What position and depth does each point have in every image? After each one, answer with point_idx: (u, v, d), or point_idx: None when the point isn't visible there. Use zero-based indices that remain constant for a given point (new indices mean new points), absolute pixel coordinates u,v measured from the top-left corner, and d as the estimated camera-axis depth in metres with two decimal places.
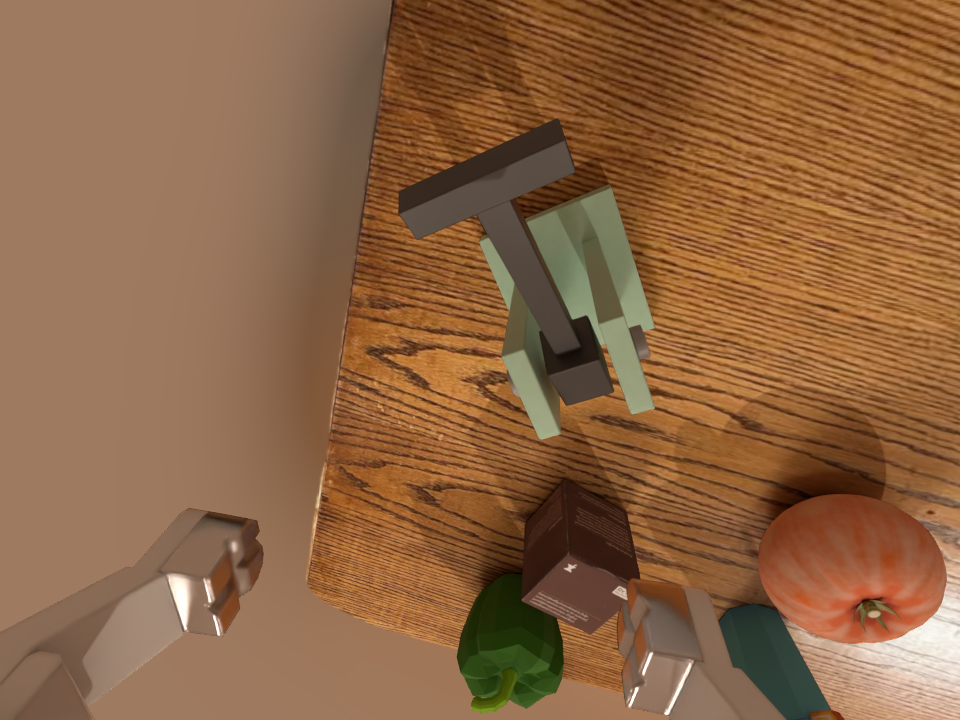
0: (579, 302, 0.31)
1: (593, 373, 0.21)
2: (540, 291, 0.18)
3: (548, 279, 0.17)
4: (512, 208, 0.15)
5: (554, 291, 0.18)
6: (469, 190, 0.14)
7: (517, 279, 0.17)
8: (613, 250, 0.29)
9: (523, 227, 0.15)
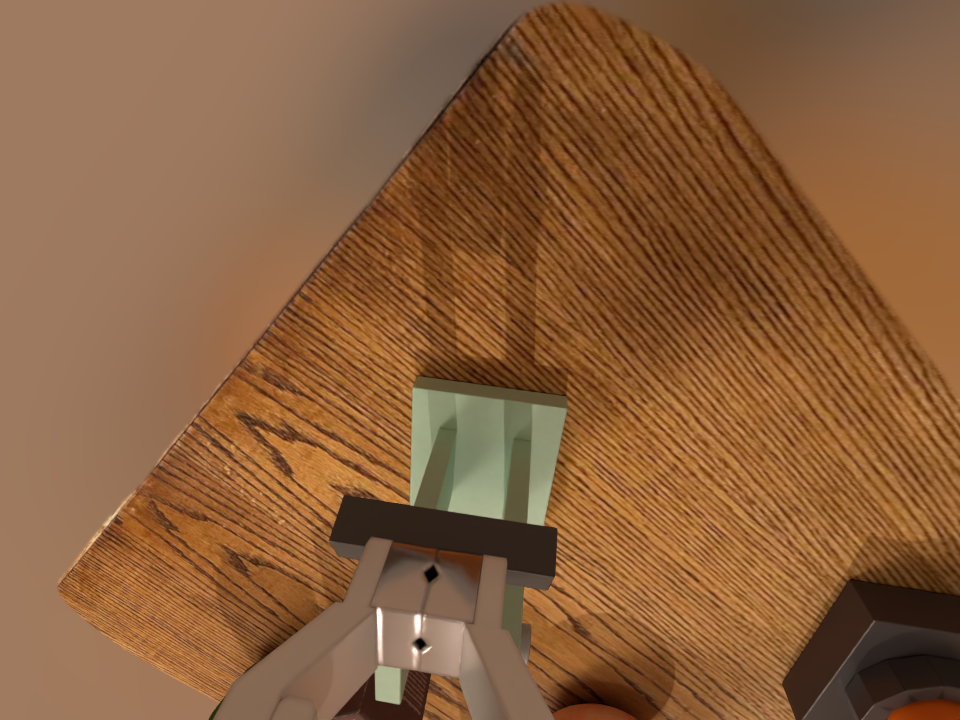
0: (484, 483, 0.29)
1: None
2: None
3: None
4: None
5: None
6: None
7: None
8: (539, 458, 0.27)
9: None
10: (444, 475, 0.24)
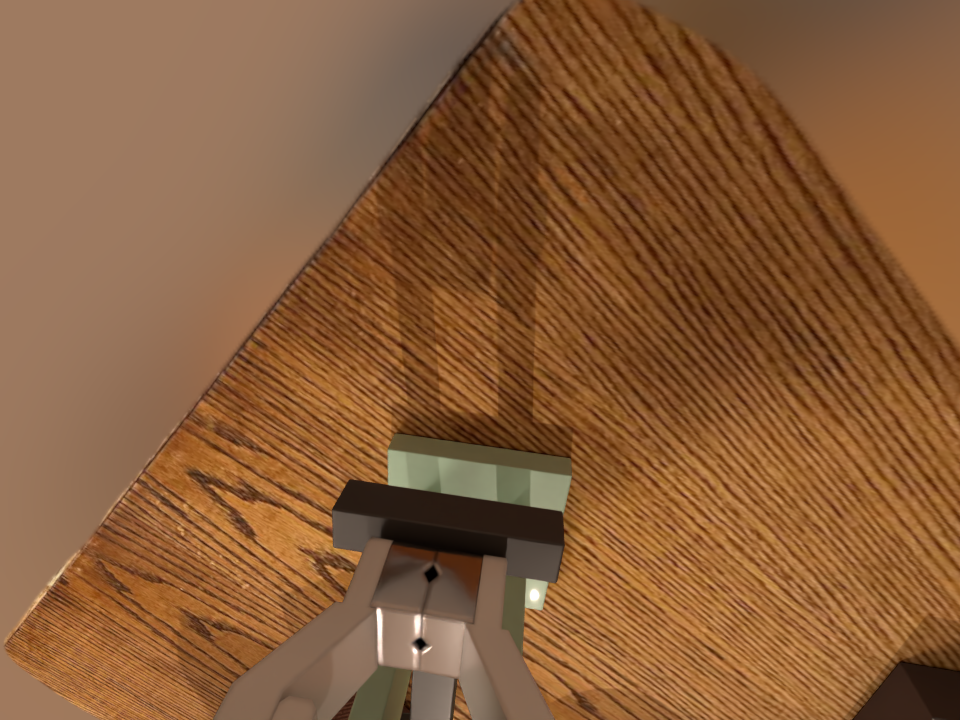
0: None
1: None
2: (437, 684, 0.13)
3: None
4: None
5: (453, 693, 0.13)
6: (429, 533, 0.11)
7: None
8: None
9: None
10: None
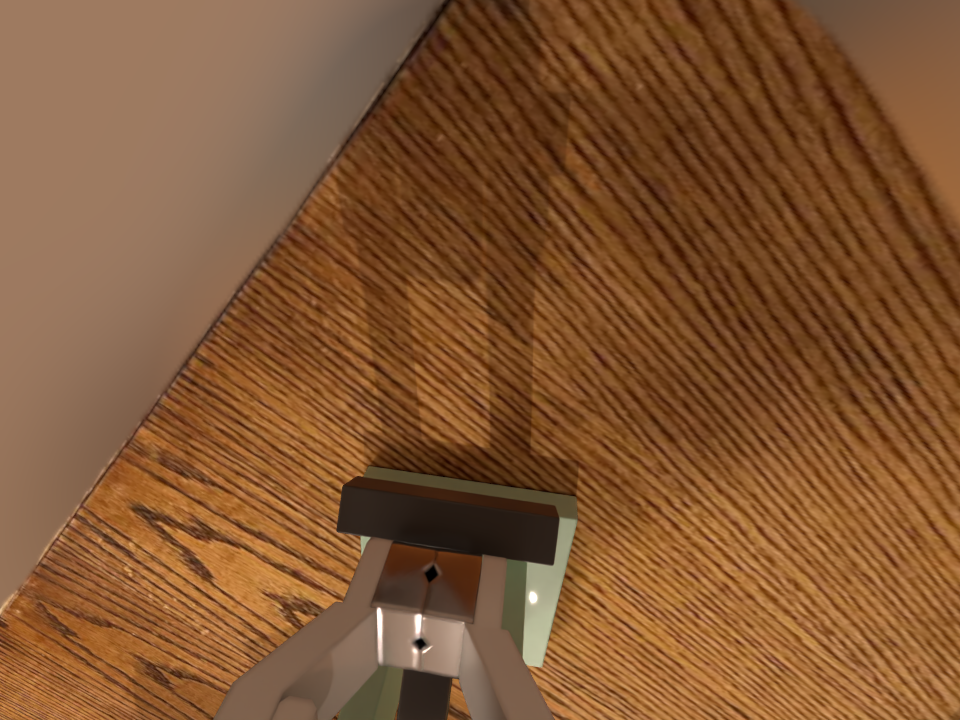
0: None
1: None
2: None
3: (445, 711, 0.11)
4: None
5: None
6: (433, 509, 0.12)
7: (408, 681, 0.11)
8: (538, 579, 0.20)
9: None
10: None
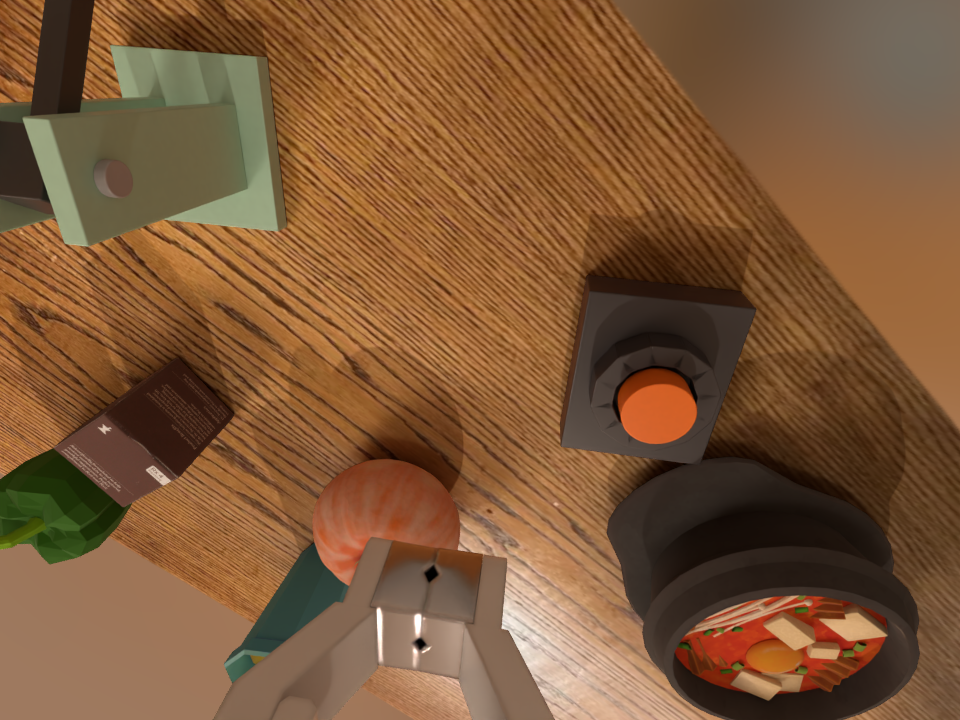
0: None
1: None
2: (57, 25, 0.19)
3: (69, 17, 0.19)
4: None
5: (67, 35, 0.19)
6: None
7: (47, 0, 0.19)
8: (248, 127, 0.28)
9: None
10: (115, 102, 0.24)
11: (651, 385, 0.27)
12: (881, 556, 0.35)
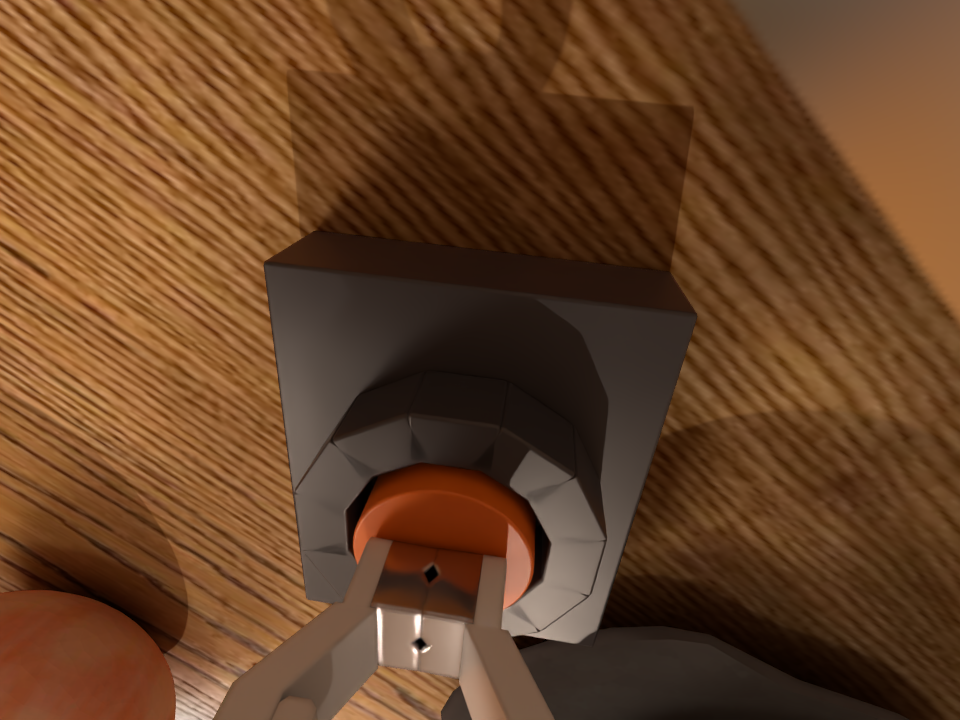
0: None
1: None
2: None
3: None
4: None
5: None
6: None
7: None
8: None
9: None
10: None
11: (405, 493, 0.10)
12: None
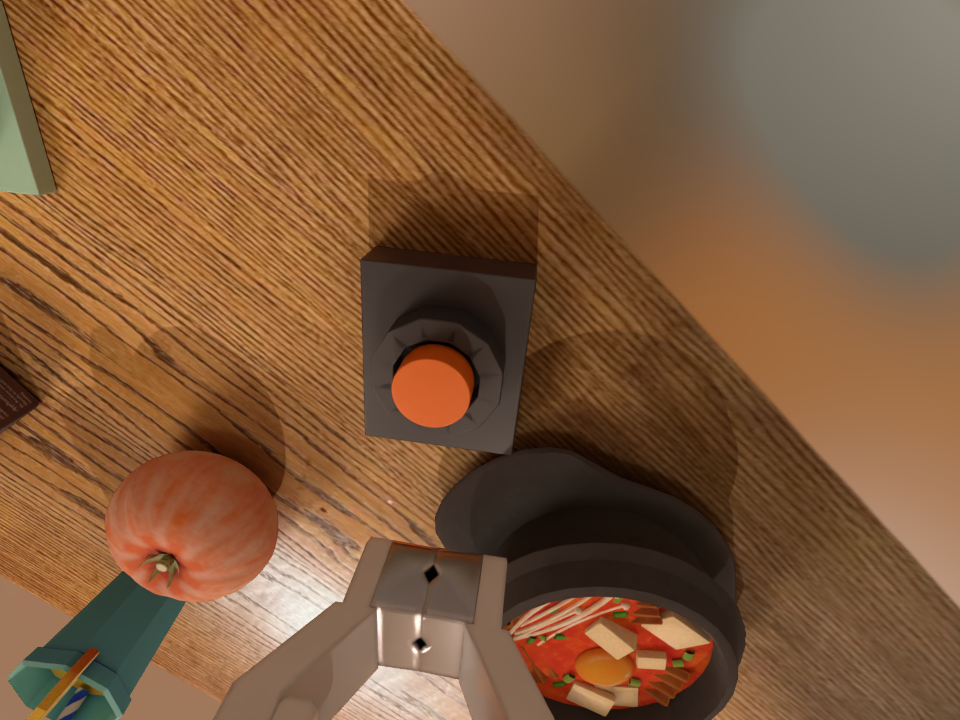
0: None
1: None
2: None
3: None
4: None
5: None
6: None
7: None
8: None
9: None
10: None
11: (415, 360, 0.25)
12: (719, 557, 0.33)
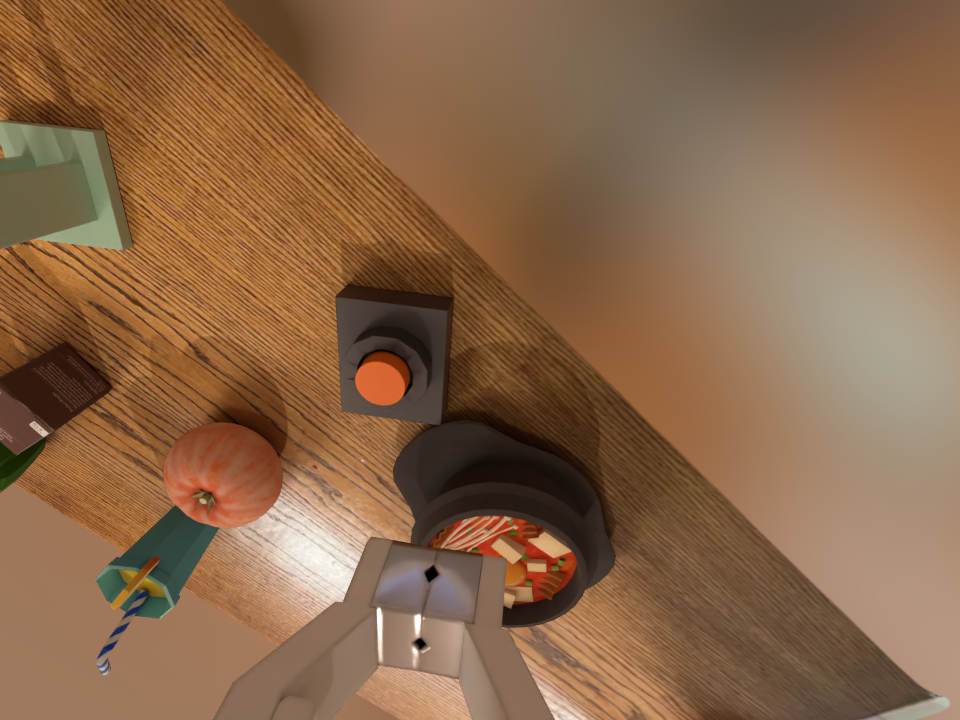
0: None
1: None
2: None
3: None
4: None
5: None
6: None
7: None
8: (93, 178, 0.39)
9: None
10: None
11: (369, 362, 0.39)
12: (588, 497, 0.47)
